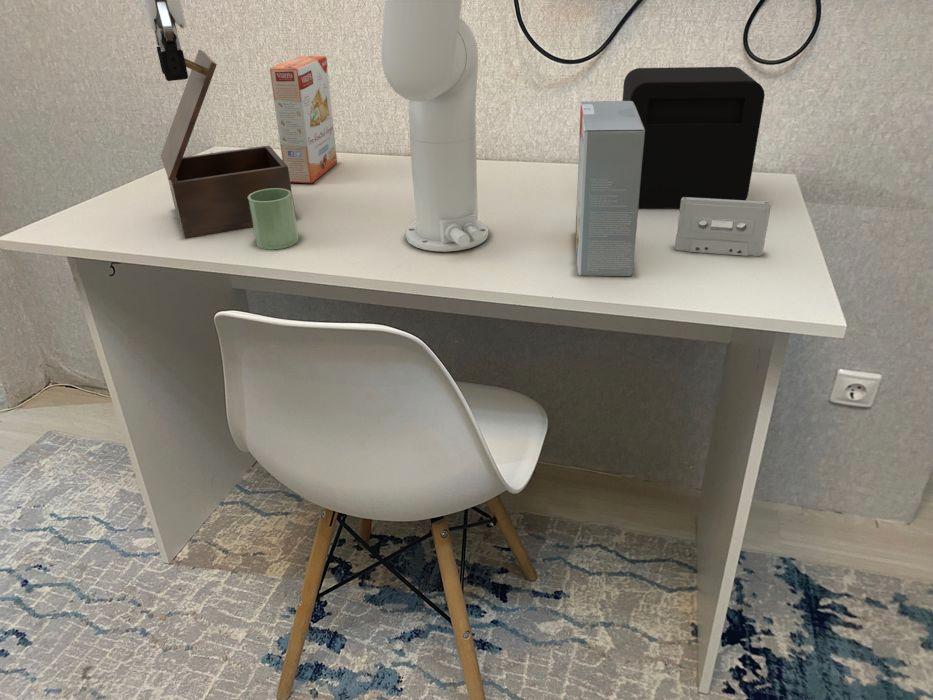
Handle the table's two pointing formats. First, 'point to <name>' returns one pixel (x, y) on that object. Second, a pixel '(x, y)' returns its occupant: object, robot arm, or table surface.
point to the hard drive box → (608, 187)
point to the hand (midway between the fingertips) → (175, 75)
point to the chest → (224, 188)
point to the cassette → (722, 238)
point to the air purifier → (695, 132)
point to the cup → (273, 218)
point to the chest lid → (187, 112)
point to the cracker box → (304, 117)
